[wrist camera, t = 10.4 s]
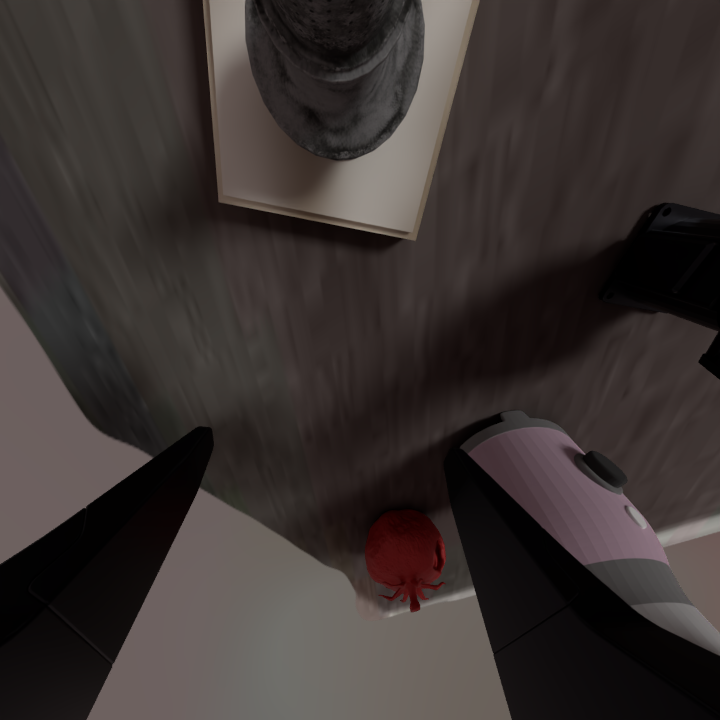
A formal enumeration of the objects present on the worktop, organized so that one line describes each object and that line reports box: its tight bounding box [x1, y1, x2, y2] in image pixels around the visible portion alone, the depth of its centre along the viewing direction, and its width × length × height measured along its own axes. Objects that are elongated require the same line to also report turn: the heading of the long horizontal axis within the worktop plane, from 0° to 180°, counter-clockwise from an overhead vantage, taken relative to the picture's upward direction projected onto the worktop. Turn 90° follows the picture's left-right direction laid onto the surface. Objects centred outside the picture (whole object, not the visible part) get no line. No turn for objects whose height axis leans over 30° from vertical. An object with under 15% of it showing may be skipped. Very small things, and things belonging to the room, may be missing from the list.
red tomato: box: [365, 509, 446, 612], centre depth 32 cm, size 10×10×9 cm
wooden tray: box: [203, 0, 479, 241], centre depth 13 cm, size 11×11×2 cm
